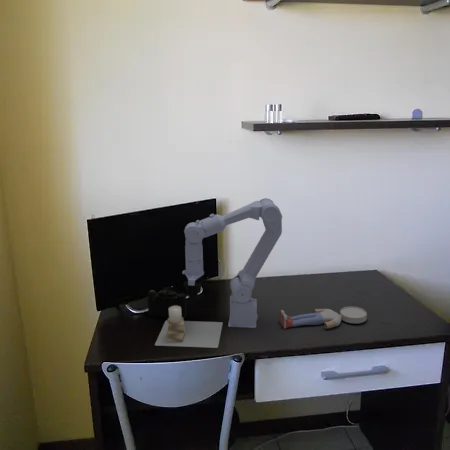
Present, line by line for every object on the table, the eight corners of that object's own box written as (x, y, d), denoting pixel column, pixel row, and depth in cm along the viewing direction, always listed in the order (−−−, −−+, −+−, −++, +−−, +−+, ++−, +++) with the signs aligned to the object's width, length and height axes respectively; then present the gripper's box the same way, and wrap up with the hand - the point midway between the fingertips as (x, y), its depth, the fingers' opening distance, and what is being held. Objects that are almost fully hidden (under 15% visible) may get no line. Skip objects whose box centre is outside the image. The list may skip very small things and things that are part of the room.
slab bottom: (185, 334, 160) (184, 326, 159) (182, 342, 155) (182, 333, 154) (170, 334, 160) (169, 325, 159) (167, 341, 155) (166, 333, 154)
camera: (193, 308, 179) (192, 283, 177) (183, 321, 169) (182, 295, 167) (157, 304, 183) (156, 280, 180) (146, 317, 173) (145, 291, 170)
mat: (222, 323, 168) (222, 322, 168) (217, 348, 151) (217, 347, 151) (165, 321, 170) (165, 320, 169) (154, 346, 153) (154, 345, 153)
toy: (287, 320, 159) (374, 311, 163) (277, 304, 171) (358, 296, 175) (287, 336, 160) (373, 327, 164) (277, 319, 172) (357, 310, 176)
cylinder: (182, 318, 158) (181, 305, 156) (181, 324, 154) (180, 311, 152) (170, 318, 158) (169, 305, 156) (168, 324, 154) (167, 311, 153)
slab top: (183, 325, 159) (183, 317, 158) (184, 333, 154) (183, 324, 154) (168, 326, 159) (167, 318, 158) (168, 334, 154) (167, 325, 153)
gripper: (185, 251, 167) (186, 288, 171) (178, 266, 153) (179, 306, 157) (206, 252, 167) (206, 288, 170) (200, 267, 153) (201, 306, 157)
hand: (195, 297), depth 164 cm, fingers open, 7 cm apart
